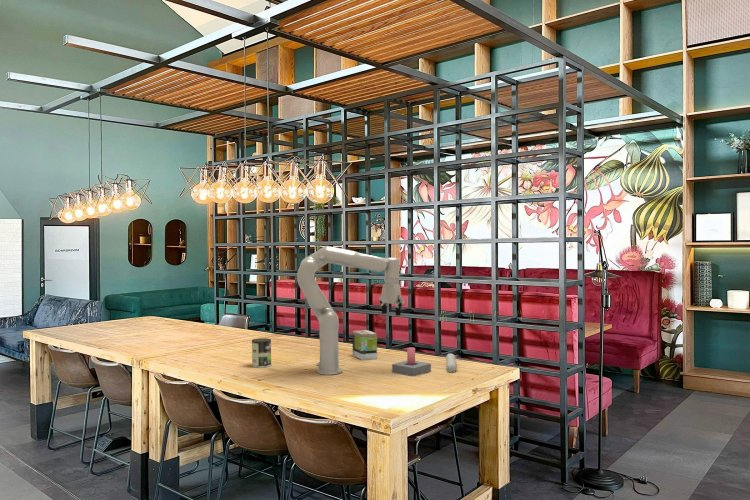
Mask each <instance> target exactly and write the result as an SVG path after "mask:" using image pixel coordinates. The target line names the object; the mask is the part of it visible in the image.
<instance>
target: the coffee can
mask: <svg viewBox="0 0 750 500" xmlns="http://www.w3.org/2000/svg"><path fill="white" fill-rule="evenodd" d="M251 349H252V350H251V359H252V360H251V361H252V363H251V364H252V365H251V367H253V368H258V369H260V368H261V369H262V368H264V369H265V368H268V367H271V366H272V339H271V338H268V337H267V338H254V339H252V340H251Z"/></svg>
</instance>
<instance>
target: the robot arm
mask: <svg viewBox="0 0 750 500" xmlns="http://www.w3.org/2000/svg"><path fill="white" fill-rule="evenodd" d="M327 264H332V265H338V266H343V267H347V268H352V269H361V270H366V271H367V270H368V271H373V272H375V273H381V272H384V279H383V282H384V283H383V285H382V289H381V295H379V297H378V300H379V303H380V306H381V314H383V315H384V314H387V312H388V305H389V304H390V305H392V304H393V305H395V316H397V317H398V316H401V315H402V314H401V313H402V307H403V305H404V304H405V301H406V300H405V299H404V298H403V297H402V293H401V285H400V259H399V258H398V257H380V256H376V255H370V254H365V253H361V252H358V251H356V250H355V251H354V250H352V249H351V250H350V249H347V248H346V249H345V248H339V247H335V246H330V245H326V246H323V247H321V248H320V249H318V250H316V251H314V253H311V254H309V255H307V256H306V257H304V258H303V259H302V260H301V261H300V265H299V268H298V270H297V273H296V281H297V284H298V287H299V288H300V290H301V291H302V294H303V296H304V297H305V299H306V301H307V304H308V306H309V307H310V308H311V311H312V313H313V314H314V315H315V317H316V319H317V321H318V322H319V361H318V363H316V367H318V369H317V370H316V373H317V374H319V375H323V376H324V375H325V376H329V375H330V376H331V375H332V376H333V375H338V374H341V373H343V370H342V368H340V365H339V364H340V363H339V360H340V359H339V358H340V357H339V355H340V353H339V350H340V349H339V328H340V327H339V326H340V324H339V316H338V314H337V313H336V311H335V310H334V308H333V307H332V305H331V303H330V302H329V300H328V298H327V297H326V295H325V294H324V292H323V291H322V290H321V288H320V286H319V284H318V282H317V281H316V279H315V273H316V272H317V270H319V269H321V268H322V267H324V266H325V265H327Z"/></svg>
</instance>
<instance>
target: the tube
mask: <svg viewBox="0 0 750 500" xmlns="http://www.w3.org/2000/svg"><path fill="white" fill-rule="evenodd" d="M445 360H446V371H448V373H455V372H456V370H457V362H456V355H455V354H453V353H448V354H446V356H445Z"/></svg>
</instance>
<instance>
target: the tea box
mask: <svg viewBox="0 0 750 500" xmlns="http://www.w3.org/2000/svg"><path fill="white" fill-rule="evenodd" d="M351 335H352V357H355V358H357V359H359V360H361V361H366V360H367V361H368V360H369V361H370V360H377V358H378V334H377V332H374V331H371V330H368V329H366V330H365V329H364V330H361V329H360V330H353V331H352V333H351Z"/></svg>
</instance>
